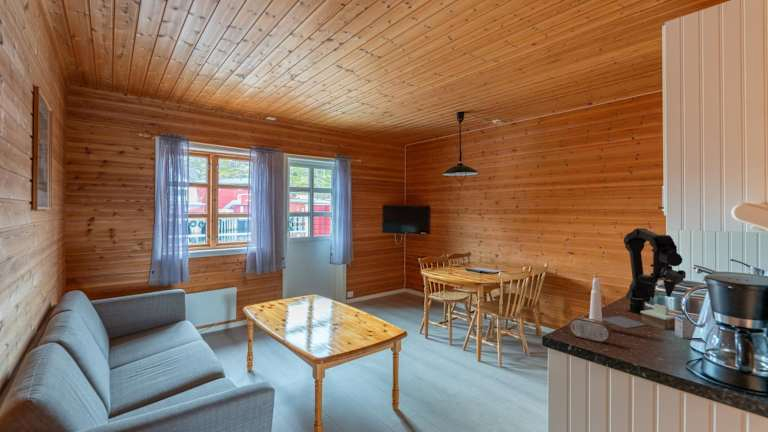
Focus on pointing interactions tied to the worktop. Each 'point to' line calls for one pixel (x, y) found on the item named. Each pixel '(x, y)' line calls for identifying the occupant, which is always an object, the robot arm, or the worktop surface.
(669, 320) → the crate
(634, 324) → the mat
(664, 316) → the lid
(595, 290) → the cosmetic bottle
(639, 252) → the robot arm
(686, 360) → the worktop surface
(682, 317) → the medicine box
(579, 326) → the tin
